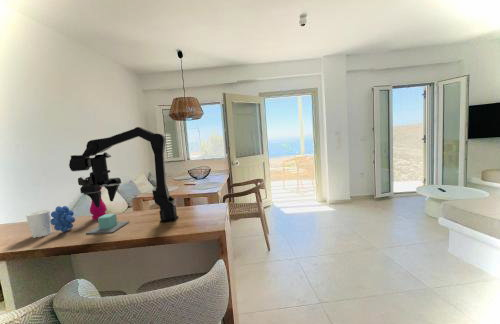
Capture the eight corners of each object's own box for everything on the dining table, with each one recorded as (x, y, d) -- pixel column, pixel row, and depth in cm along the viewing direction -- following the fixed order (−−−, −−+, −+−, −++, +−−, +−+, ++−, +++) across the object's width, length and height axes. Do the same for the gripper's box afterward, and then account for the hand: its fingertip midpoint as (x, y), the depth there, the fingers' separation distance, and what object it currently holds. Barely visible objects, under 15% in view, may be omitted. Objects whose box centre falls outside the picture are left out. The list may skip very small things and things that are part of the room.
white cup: (34, 239, 103) (30, 216, 102) (27, 236, 108) (23, 214, 106) (56, 232, 110) (52, 210, 109) (49, 230, 114) (45, 209, 113)
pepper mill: (102, 220, 123) (96, 180, 120) (88, 221, 123) (81, 181, 121) (110, 215, 130) (105, 177, 128) (97, 216, 130) (91, 178, 128)
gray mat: (129, 222, 116) (129, 221, 116) (113, 232, 104) (112, 231, 104) (104, 223, 117) (104, 222, 117) (86, 234, 105) (85, 232, 105)
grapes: (63, 237, 104) (58, 209, 102) (48, 237, 104) (43, 210, 103) (84, 226, 115) (80, 201, 114) (70, 227, 116) (66, 202, 114)
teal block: (117, 224, 112) (115, 213, 112) (110, 228, 108) (108, 217, 107) (106, 224, 113) (105, 214, 112) (99, 229, 108) (97, 218, 107)
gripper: (97, 167, 117) (102, 199, 119) (64, 173, 99) (71, 211, 100) (119, 165, 116) (124, 198, 118) (91, 172, 98) (97, 210, 99)
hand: (105, 204), depth 109 cm, fingers open, 9 cm apart
